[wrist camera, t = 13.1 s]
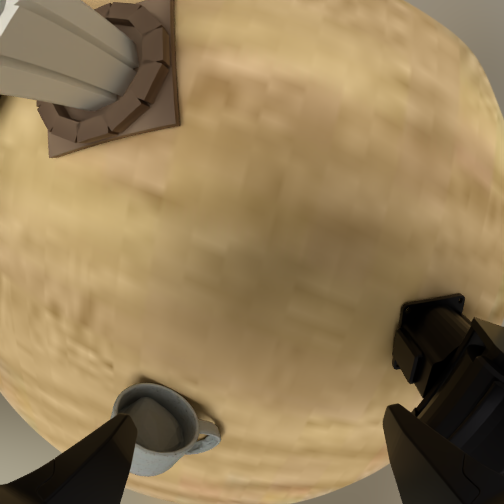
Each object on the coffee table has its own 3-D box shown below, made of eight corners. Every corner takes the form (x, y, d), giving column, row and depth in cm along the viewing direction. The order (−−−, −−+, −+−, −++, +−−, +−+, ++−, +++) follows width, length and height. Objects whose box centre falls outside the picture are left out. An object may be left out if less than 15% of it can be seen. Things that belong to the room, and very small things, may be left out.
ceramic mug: (118, 413, 26) (93, 463, 19) (132, 368, 24) (100, 427, 17) (205, 450, 27) (196, 504, 20) (236, 413, 25) (229, 478, 18)
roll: (133, 24, 15) (37, -55, 3) (142, 90, 16) (18, 32, 5) (68, 57, 15) (-42, 18, 4) (73, 121, 17) (-57, 110, 6)
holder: (173, -1, 15) (162, -18, 12) (180, 125, 18) (166, 119, 15) (58, 43, 16) (39, 34, 13) (56, 157, 19) (34, 158, 16)
